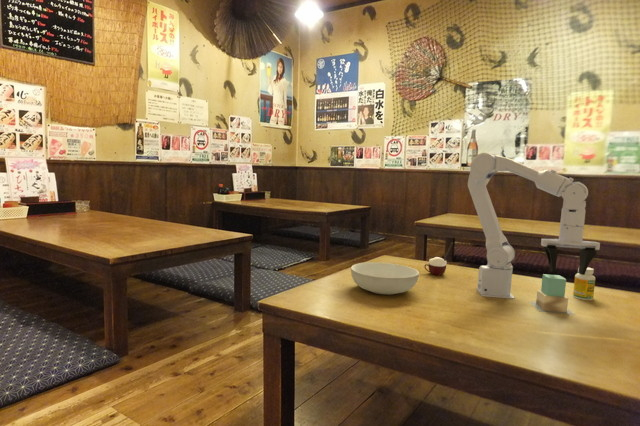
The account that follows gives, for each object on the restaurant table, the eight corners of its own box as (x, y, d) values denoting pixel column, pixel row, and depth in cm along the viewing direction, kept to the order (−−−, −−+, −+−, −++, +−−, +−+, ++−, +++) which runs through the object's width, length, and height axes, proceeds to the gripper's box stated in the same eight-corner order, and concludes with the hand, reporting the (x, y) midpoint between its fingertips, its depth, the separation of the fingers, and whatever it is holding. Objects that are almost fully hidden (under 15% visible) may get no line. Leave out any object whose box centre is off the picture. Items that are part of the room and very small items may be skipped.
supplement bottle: (577, 294, 133) (581, 265, 132) (596, 299, 129) (599, 269, 128) (569, 297, 130) (572, 267, 129) (588, 302, 126) (591, 271, 125)
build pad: (539, 312, 114) (539, 311, 114) (528, 302, 123) (528, 301, 123) (574, 315, 113) (575, 314, 113) (561, 305, 122) (561, 304, 122)
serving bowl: (431, 297, 124) (433, 275, 123) (369, 304, 116) (370, 279, 116) (394, 279, 143) (395, 260, 143) (339, 284, 136) (339, 263, 135)
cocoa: (423, 274, 153) (423, 242, 152) (428, 271, 158) (428, 239, 157) (449, 278, 148) (449, 244, 147) (453, 274, 153) (454, 241, 152)
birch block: (543, 310, 116) (544, 296, 115) (536, 303, 121) (537, 290, 121) (566, 312, 115) (568, 298, 114) (558, 305, 120) (559, 291, 120)
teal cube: (546, 295, 116) (548, 278, 115) (541, 291, 120) (542, 274, 119) (564, 297, 115) (566, 279, 114) (557, 292, 119) (559, 275, 119)
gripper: (549, 225, 114) (544, 274, 116) (607, 228, 112) (601, 278, 113) (540, 222, 121) (535, 268, 122) (595, 225, 119) (589, 272, 120)
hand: (566, 272), depth 118 cm, fingers open, 7 cm apart
